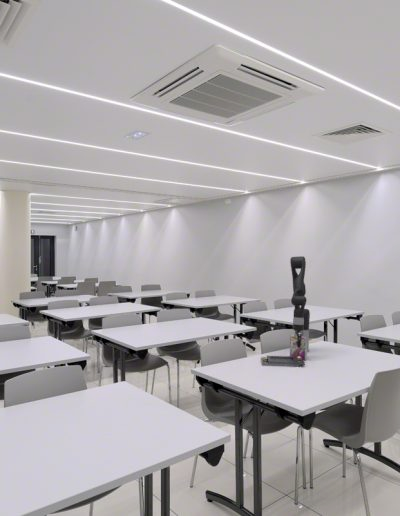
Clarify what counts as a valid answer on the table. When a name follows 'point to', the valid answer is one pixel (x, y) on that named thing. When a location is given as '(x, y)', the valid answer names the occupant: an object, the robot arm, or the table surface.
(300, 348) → the candy bar box
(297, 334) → the robot arm
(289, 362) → the grey tray
